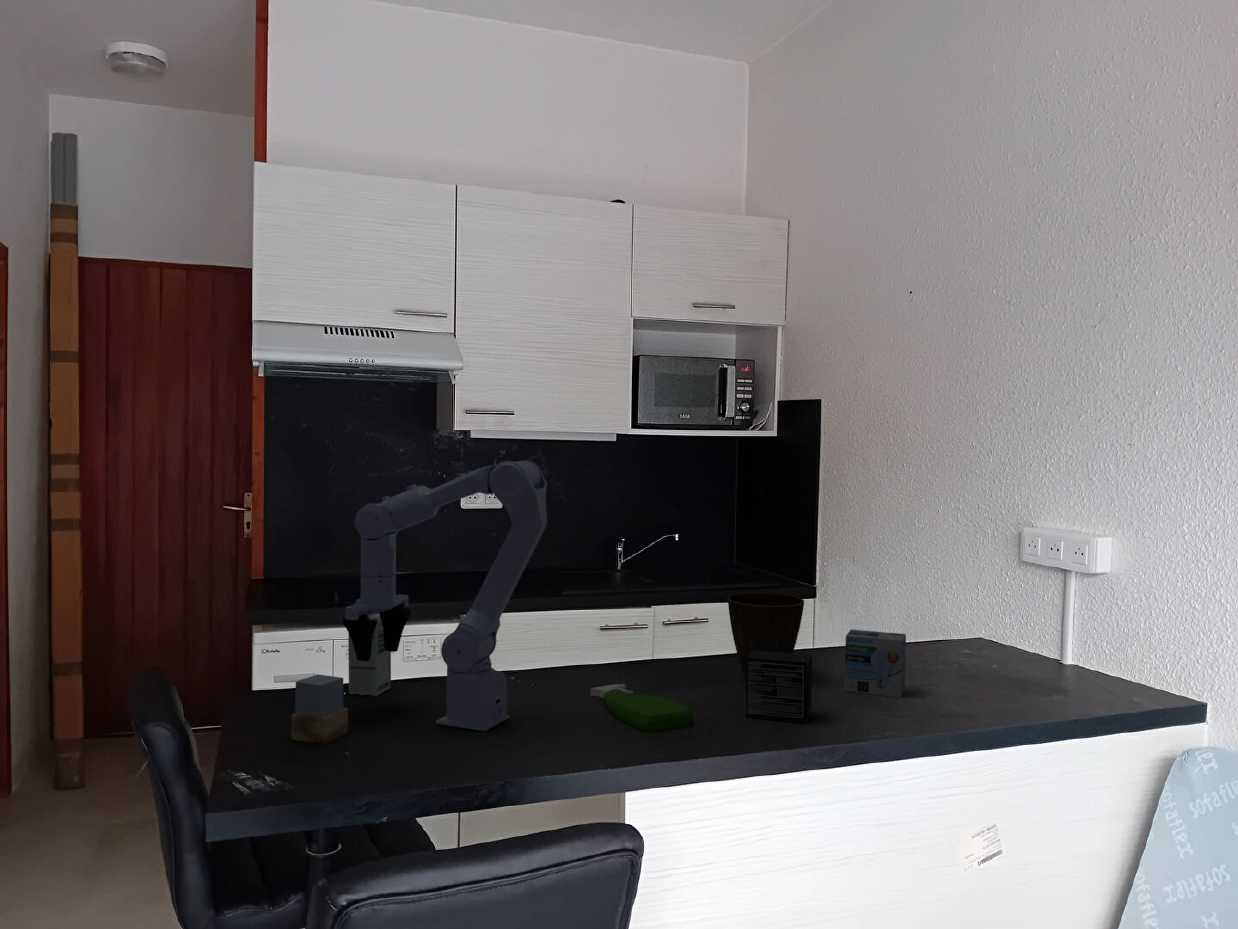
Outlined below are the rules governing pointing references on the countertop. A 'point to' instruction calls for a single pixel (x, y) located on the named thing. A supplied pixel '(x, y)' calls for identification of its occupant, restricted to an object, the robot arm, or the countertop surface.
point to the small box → (779, 686)
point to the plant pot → (764, 623)
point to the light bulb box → (875, 663)
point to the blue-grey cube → (319, 696)
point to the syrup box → (370, 665)
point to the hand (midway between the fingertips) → (377, 655)
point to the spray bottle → (644, 709)
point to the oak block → (319, 727)
